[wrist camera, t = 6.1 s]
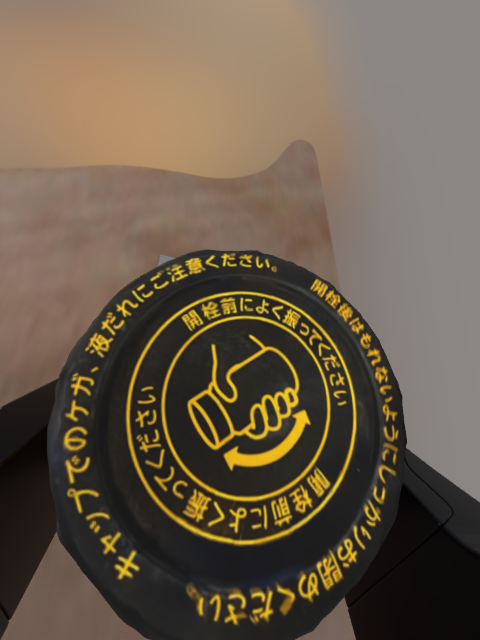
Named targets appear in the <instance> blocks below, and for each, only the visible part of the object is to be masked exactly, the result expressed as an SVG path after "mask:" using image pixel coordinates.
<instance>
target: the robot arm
mask: <svg viewBox="0 0 480 640" xmlns="http://www.w3.org/2000/svg"><path fill="white" fill-rule="evenodd" d="M58 380H59V378H58V379H56V380H54V381H52V382H50V383H48V384H46V385H44V386H42V387H40V388H38V389H36V390H34V391H32V392H30V393H28V394H26V395H24V396H22V397H20V398H18V399H16V400H14V401H12V402H10V403H8V404H6V405H4V406H2V407H1V409H0V639H1V637H2V635H3V634H4V632H5V630H6V628H7V626H8V624H9V621H8V620H10V619H11V618H12V616H13V614H14V612H15V610H16V608H17V606H18V604H19V602H20V600H21V598H22V597H23V595H24V593H25V591H26V589H27V587H28V585H29V583H30V581H31V579H32V577H33V575H34V573H35V572H36V570H37V568H38V566H39V564H40V562H41V560H42V558H43V556H44V554H45V552H46V550H47V548H48V546H49V545H50V543H51V541H52V539H53V537H54V535H55V533H56V531H57V514H56V508H55V502H54V499H53V495H52V492H51V487H50V473H49V464H48V456H47V431H48V424H49V420H50V416H51V413H52V409H53V406H54V403H55V391H56V385H57V382H58ZM404 474H405V476H404V480H403V484H402V488H401V493H400V499H399V505H398V511H397V517H396V519H395V521H394V523H393V525H392V527H391V529H390V531H389V533H388V534H387V536H386V538H385V540H384V542H383V544H382V545H381V546H380V549H379V551H378V553H377V554H376V556H375V557H374V559H373V560H372V561H371V563H370V565H369V567H368V569H367V570H366V572H365V573H364V575H363V576H362V577H361V579H360V580H359V581H358V583H357V584H356V585H355V586H353V587H352V588H351V589H350V591H349V592H348V593H347V594H346V595H345V600H346V604H347V607H348V612H349V615H350V619H351V623H352V626H353V630H354V634H355V637H356V640H480V502H478V501H477V500H476V499H474V498H473V497H471V496H470V495H469V494H467V493H466V492H464V491H463V490H461V489H460V488H459V487H457V486H456V485H455V484H453V483H452V482H451V481H449V480H448V479H447V478H445V477H444V476H442V475H441V474H440V473H438V472H437V471H436V470H434V469H433V468H432V467H430V466H429V465H427V464H426V463H425V462H424V461H422V460H421V459H420V458H419V457H417V456H416V455H415V454H413V453H412V452H411V451H410V450H408V449H407V448H406V449H405V456H404Z"/></svg>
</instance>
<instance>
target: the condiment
mask: <svg viewBox="0 0 480 640" xmlns="http://www.w3.org/2000/svg"><path fill="white" fill-rule="evenodd" d="M406 444H407V438H406V430H405V424H404V415H403V407H402V394H401V392H400V389H399V384H398V381H397V380H396V378H395V376H394V374H393V371H392V369H391V366H390V364H389V361H388V359H387V357H386V354H385V352H384V350H383V348H382V346H381V344H380V341H379V339H378V338H377V337H376V335H375V334H374V332H373V331H372V329H371V328H370V326H369V325H368V323H367V322H366V321H365V320H364V319H363V318H362V316H361V314H360V313H359V312H358V311H357V310H356V309H355V308H354V307H353V306H352V305H351V304H350V303H349V302H348V301H347V300H346V299H345V298H344V297H343V296H342V295H341V294H340V293H339V292H338V291H337V290H336V289H335V287H334V286H333V285H332V284H330V283H329V282H327V281H325V280H323V279H321V278H320V277H318V276H317V275H315V274H314V273H312V272H310V271H308V270H307V269H305V268H303V267H300V266H297V265H296V264H295V263H293V262H289V261H285V260H283V259H280V258H277V257H275V256H273V255H269V254H263V253H261V252H259V251H252V250H249V251H216V250H201V251H196V252H191V253H188V254H186V255H183V256H180V257H177V258H175V259H172V260H170V261H167V262H165V263H163V264H161V265H159V266H158V267H156V268H154V269H153V270H151V271H149V272H147V273H146V274H144V275H142V276H140V277H139V278H137V279H136V280H134V281H132V282H131V283H129V284H128V285H127V286H125V287H124V288H123V289H122V290H120V291H119V292H118V293H117V294H116V295H115V296H114V297H113V298H112V299H111V300H110V302H109V303H108V304H107V305H106V306H105V307H104V309H103V310H102V312H101V313H100V315H99V316H98V317H97V318H96V319H95V320H94V321H93V322H92V324H91V325H90V327H89V328H88V330H87V332H86V333H85V334H84V335H83V336H82V337H81V338H80V339H79V340H78V342H77V343H76V345H75V346H74V348H73V349H72V351H71V352H70V354H69V356H68V359H67V361H66V364H65V366H64V367H63V369H62V371H61V373H60V375H59V380H58V382H57V385H56V391H55V403H54V406H53V409H52V413H51V416H50V420H49V424H48V431H47V456H48V464H49V473H50V487H51V492H52V495H53V499H54V502H55V508H56V514H57V534H58V537H59V540H60V542H61V544H62V545H63V546H64V547H65V549H66V550H67V551H68V552H69V554H70V555H71V556H72V558H73V559H74V560H75V561H76V563H77V564H78V566H79V567H80V569H81V570H82V572H83V573H84V574H85V575H86V576H87V577H88V579H89V580H90V581H91V582H92V583H93V585H94V586H95V587H96V588H97V589H98V590H99V592H100V593H101V595H102V596H103V597H104V599H105V600H106V601H107V603H108V604H109V605H110V606H111V608H112V609H113V610H114V612H115V613H116V614H117V615H118V617H119V618H120V619H122V620H123V621H124V622H125V623H126V624H127V625H129V626H131V627H132V628H134V629H135V630H137V631H138V632H139V633H140V634H141V635H142V636H143V637H145V638H147V639H151V640H295V639H297V638H299V637H301V636H303V635H305V634H307V633H309V632H312V631H313V630H314V629H315V628H316V627H317V625H318V624H319V623H320V622H321V621H322V619H323V618H324V617H326V616H327V615H328V614H329V613H330V612H331V611H332V610H333V609H334V608H335V607H336V606H337V604H338V603H339V602H340V601H341V600H342V599H343V598H344V596H345V595H346V594H347V593H348V592H349V591H350V589H351V588H352V587H353V586H355V585H356V584H357V583H358V581H359V580H360V579H361V577H362V576H363V575H364V573H365V572H366V570H367V569H368V567H369V565H370V563H371V561H372V560H373V559H374V557H375V556H376V554H377V553H378V551H379V549H380V546H381V545H382V544H383V542H384V540H385V538H386V536H387V534H388V533H389V531H390V529H391V527H392V525H393V523H394V521H395V519H396V517H397V511H398V505H399V499H400V493H401V488H402V484H403V480H404V476H405V474H404V456H405V449H406Z"/></svg>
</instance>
